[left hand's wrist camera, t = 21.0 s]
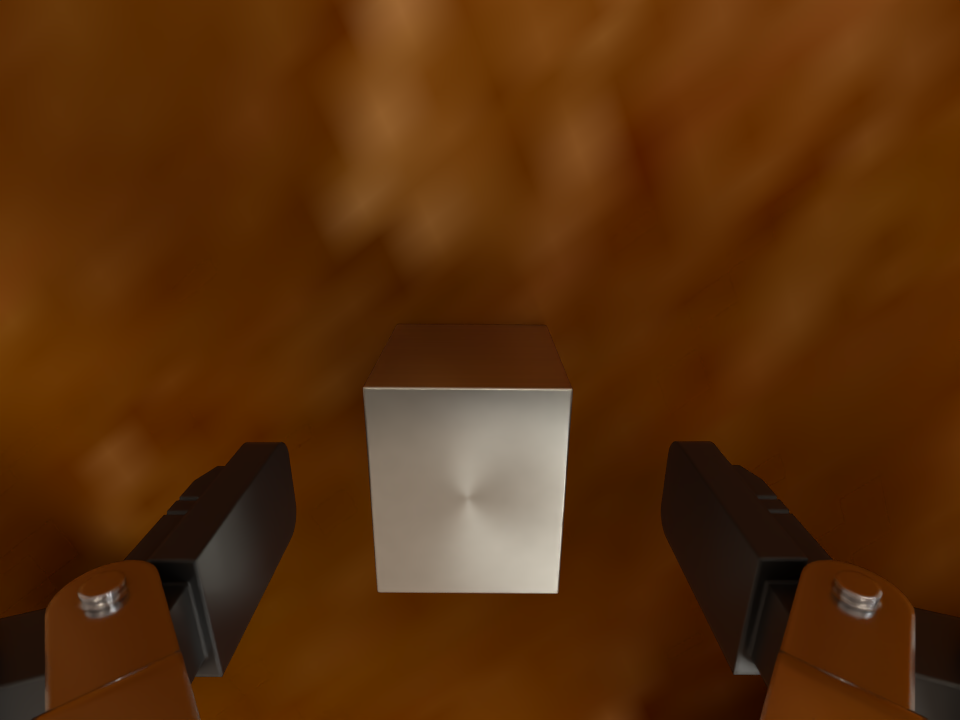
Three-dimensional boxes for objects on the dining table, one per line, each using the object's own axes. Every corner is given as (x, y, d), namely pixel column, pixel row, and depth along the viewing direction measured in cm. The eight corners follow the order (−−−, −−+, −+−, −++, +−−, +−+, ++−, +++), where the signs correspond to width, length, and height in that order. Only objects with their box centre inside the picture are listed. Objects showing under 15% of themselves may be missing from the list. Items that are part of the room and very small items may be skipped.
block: (404, 482, 16) (377, 593, 12) (396, 323, 15) (361, 387, 10) (538, 483, 16) (558, 594, 12) (546, 324, 15) (573, 388, 10)
